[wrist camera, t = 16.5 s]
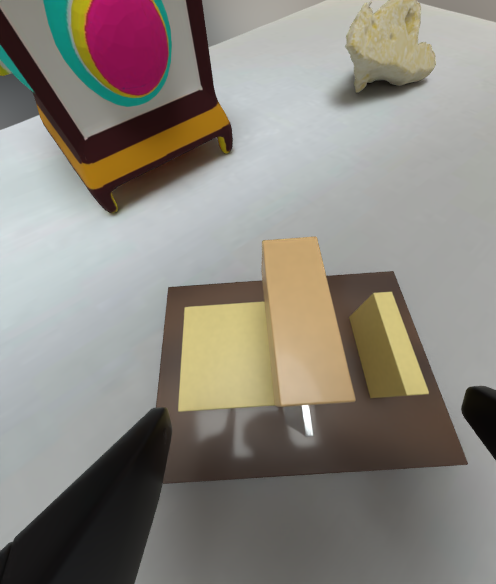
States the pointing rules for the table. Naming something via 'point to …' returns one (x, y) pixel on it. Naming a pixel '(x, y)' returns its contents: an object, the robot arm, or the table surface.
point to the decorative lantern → (115, 82)
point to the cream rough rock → (389, 45)
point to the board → (325, 417)
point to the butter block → (225, 358)
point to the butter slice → (386, 349)
